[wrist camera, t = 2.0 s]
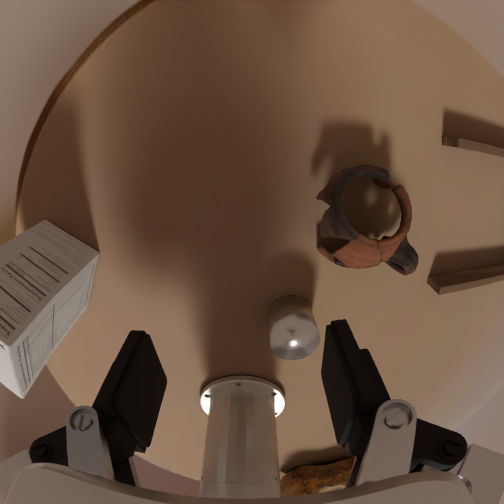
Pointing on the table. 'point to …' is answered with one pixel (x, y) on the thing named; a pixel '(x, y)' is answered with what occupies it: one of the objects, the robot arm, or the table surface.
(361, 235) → the pottery mug
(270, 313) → the grey tin
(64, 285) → the supplement box
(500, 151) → the display frame
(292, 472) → the rough brown rock
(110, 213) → the table surface
